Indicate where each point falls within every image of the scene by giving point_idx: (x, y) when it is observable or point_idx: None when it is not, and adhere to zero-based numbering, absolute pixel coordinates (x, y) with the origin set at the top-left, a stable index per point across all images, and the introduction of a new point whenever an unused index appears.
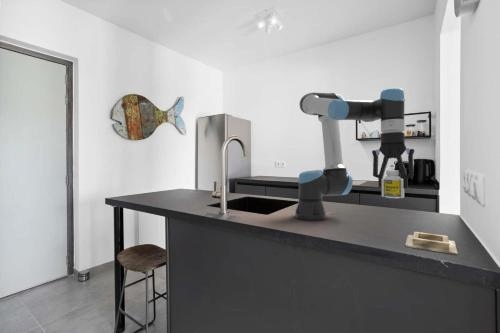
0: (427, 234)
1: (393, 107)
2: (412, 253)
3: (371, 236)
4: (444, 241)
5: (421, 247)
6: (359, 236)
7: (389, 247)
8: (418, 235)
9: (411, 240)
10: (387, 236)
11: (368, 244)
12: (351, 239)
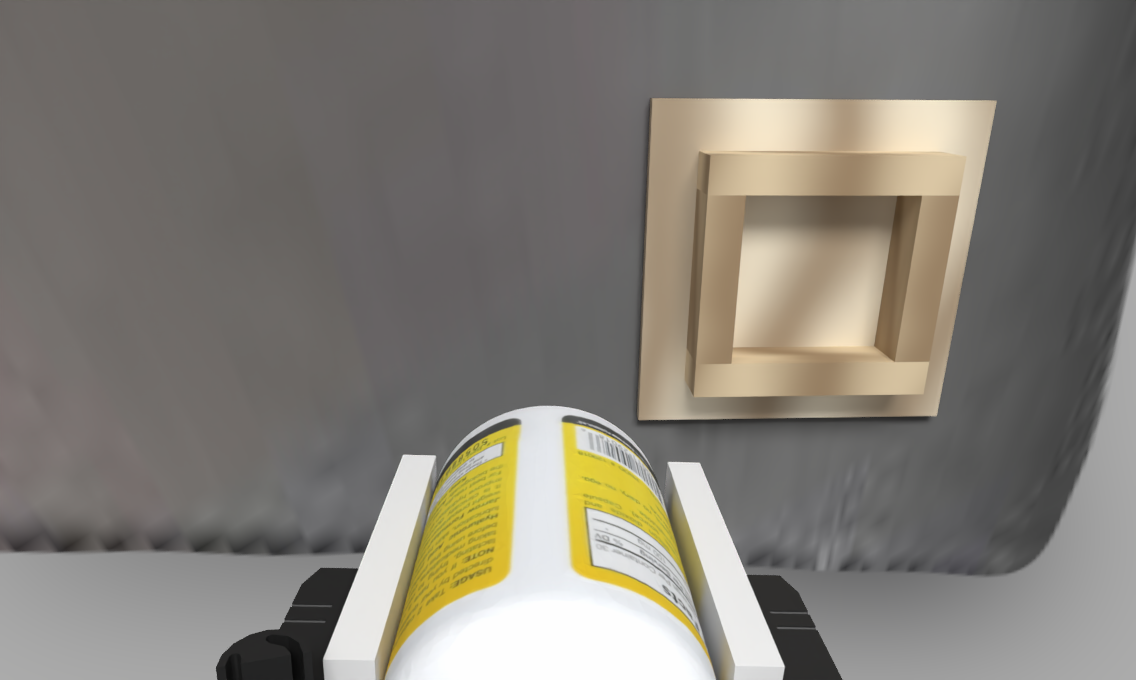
0: (812, 195)
1: None
2: None
3: (374, 290)
4: (904, 350)
5: (738, 417)
6: (290, 344)
7: None
8: (739, 267)
9: (678, 279)
10: (490, 214)
11: None
12: (268, 455)
